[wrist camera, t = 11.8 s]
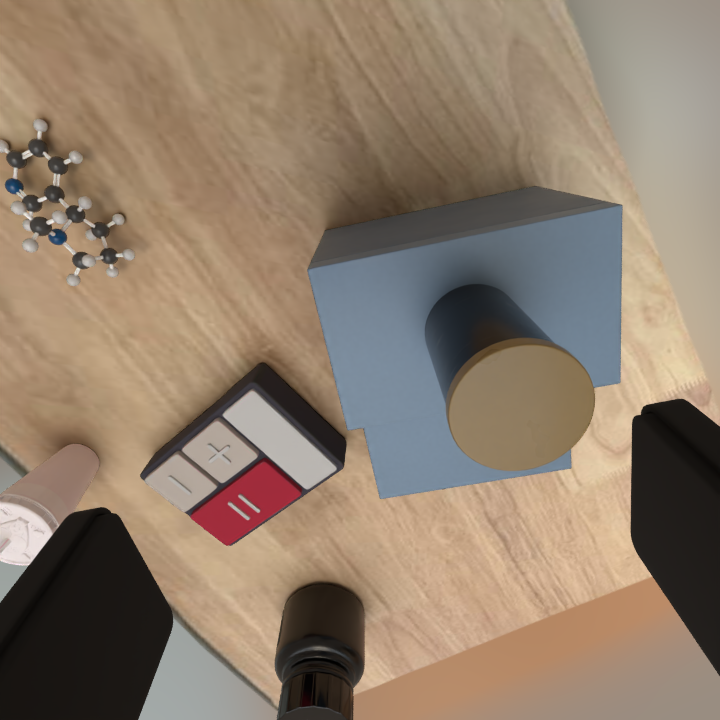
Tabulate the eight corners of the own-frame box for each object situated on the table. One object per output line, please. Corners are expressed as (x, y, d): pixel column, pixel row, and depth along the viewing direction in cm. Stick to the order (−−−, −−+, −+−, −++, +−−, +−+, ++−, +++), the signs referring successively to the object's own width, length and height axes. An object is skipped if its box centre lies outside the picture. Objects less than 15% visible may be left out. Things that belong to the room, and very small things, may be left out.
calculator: (133, 482, 42) (250, 384, 37) (154, 452, 46) (263, 360, 41) (226, 554, 45) (345, 473, 41) (239, 520, 49) (349, 442, 45)
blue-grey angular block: (324, 230, 37) (306, 269, 25) (535, 185, 36) (623, 204, 24) (378, 464, 46) (383, 575, 34) (550, 435, 44) (618, 541, 32)
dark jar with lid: (414, 291, 26) (438, 359, 17) (519, 271, 25) (594, 330, 17) (429, 383, 28) (457, 481, 20) (526, 366, 27) (596, 459, 19)
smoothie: (32, 462, 46) (-96, 585, 33) (64, 418, 44) (-59, 530, 31) (93, 498, 47) (-7, 628, 35) (127, 457, 45) (34, 579, 33)
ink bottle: (264, 611, 54) (239, 731, 43) (314, 566, 51) (301, 682, 40) (332, 650, 56) (325, 773, 45) (383, 610, 53) (388, 729, 42)
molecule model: (74, 102, 36) (-55, 82, 29) (166, 234, 35) (57, 245, 28) (47, 164, 39) (-74, 159, 32) (131, 285, 39) (26, 305, 32)
